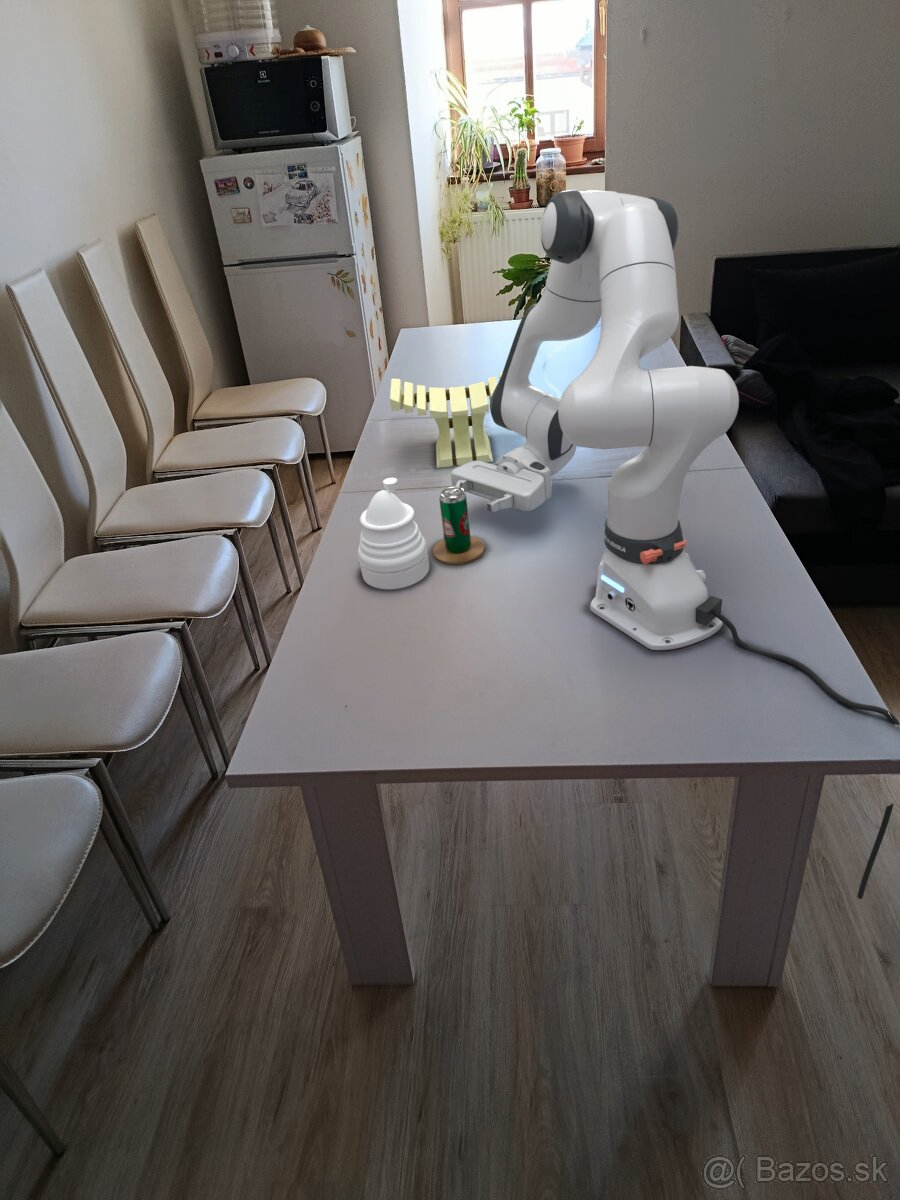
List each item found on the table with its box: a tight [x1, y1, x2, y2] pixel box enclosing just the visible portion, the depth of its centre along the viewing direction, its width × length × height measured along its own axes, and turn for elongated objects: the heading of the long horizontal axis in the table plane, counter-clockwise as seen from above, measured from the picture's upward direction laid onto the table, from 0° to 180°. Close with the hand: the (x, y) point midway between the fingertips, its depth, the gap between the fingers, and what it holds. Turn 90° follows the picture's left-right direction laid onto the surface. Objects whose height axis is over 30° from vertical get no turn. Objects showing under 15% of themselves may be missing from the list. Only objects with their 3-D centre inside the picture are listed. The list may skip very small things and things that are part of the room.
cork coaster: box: [432, 535, 485, 566], centre depth 153 cm, size 10×10×1 cm
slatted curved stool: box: [389, 371, 503, 469], centre depth 186 cm, size 30×16×18 cm, turn 92°
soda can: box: [438, 486, 471, 553], centre depth 150 cm, size 5×5×12 cm
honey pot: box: [357, 477, 430, 590], centre depth 145 cm, size 13×13×18 cm
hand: (471, 501), depth 151 cm, fingers open, 8 cm apart
